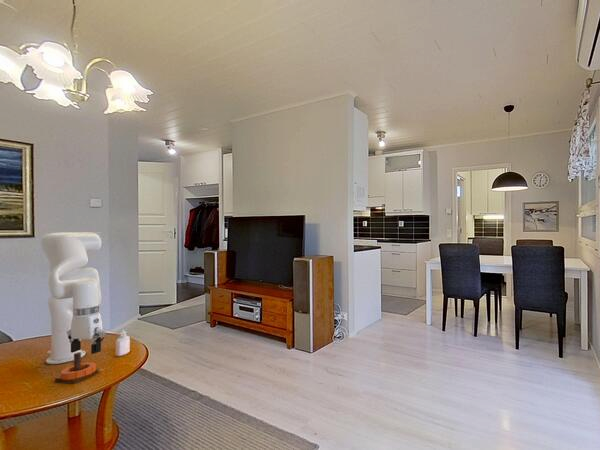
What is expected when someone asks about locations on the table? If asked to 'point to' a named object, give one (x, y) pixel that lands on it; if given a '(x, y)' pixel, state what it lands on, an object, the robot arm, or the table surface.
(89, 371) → the ring
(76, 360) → the post
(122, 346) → the eye dropper bottle
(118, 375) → the table surface
